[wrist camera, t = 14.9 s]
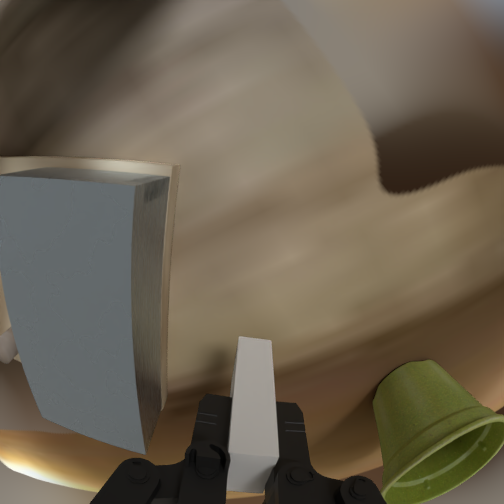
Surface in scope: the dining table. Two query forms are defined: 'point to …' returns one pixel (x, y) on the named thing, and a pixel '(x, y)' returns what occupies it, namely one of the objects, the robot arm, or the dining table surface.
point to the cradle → (3, 342)
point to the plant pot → (431, 433)
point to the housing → (87, 295)
